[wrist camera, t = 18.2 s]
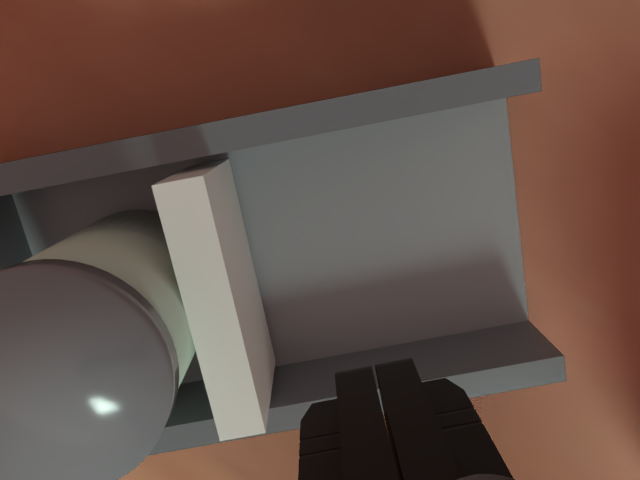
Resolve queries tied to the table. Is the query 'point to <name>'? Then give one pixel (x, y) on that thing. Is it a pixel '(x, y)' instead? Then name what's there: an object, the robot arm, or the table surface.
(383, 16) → the table surface
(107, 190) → the grey tray
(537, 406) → the table surface
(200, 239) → the block
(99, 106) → the table surface
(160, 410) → the small jar
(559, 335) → the table surface
